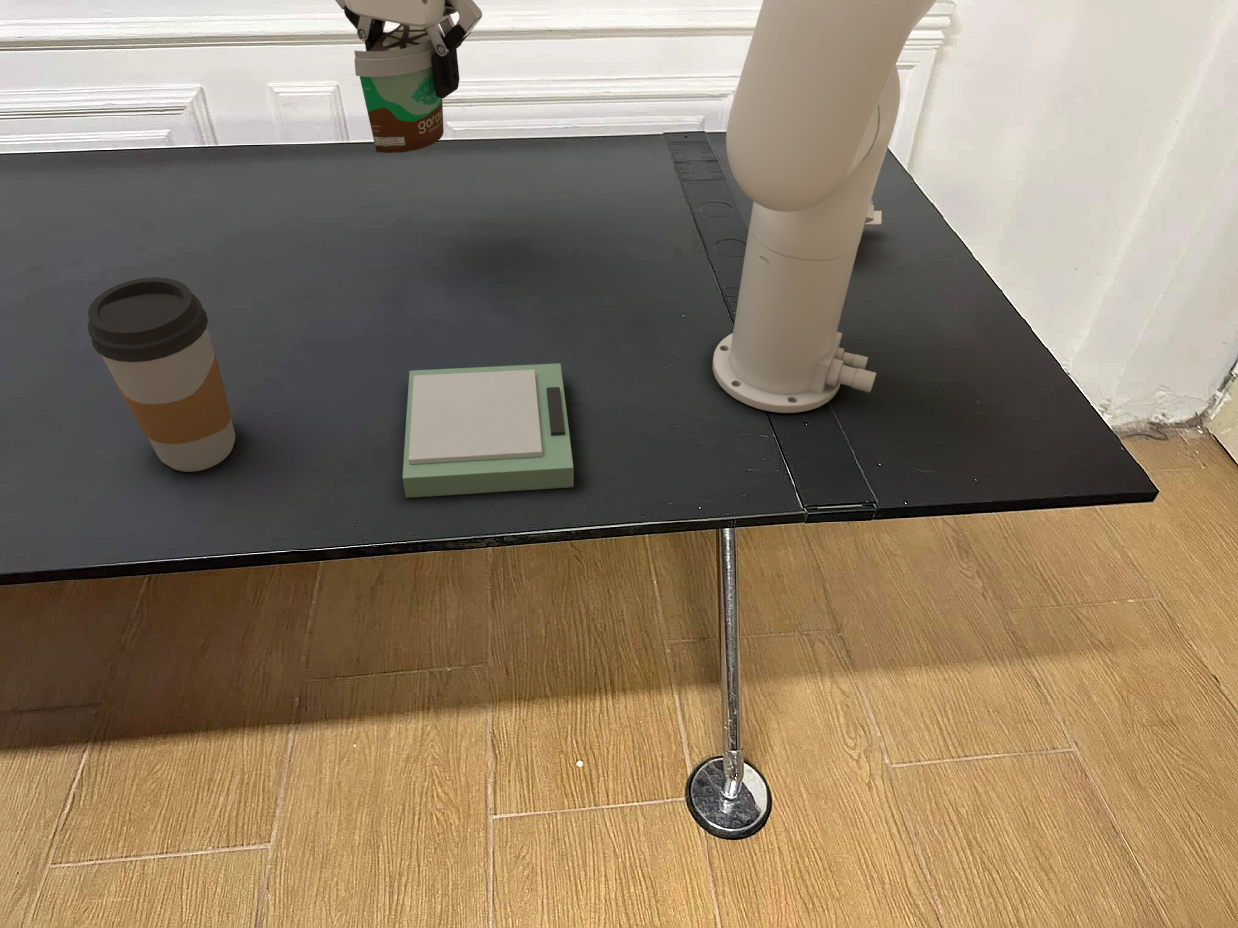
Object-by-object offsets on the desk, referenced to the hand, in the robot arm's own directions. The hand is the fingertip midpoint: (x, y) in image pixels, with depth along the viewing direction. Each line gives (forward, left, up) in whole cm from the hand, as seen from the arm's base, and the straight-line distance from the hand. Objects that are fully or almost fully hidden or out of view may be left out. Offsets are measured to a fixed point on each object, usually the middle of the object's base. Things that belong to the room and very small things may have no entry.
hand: (415, 85), depth 88 cm
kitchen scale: (-20, +24, -19) cm, 37 cm away
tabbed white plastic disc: (-39, -21, -19) cm, 48 cm away
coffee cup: (+2, +36, -19) cm, 41 cm away
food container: (0, 0, -5) cm, 5 cm away
